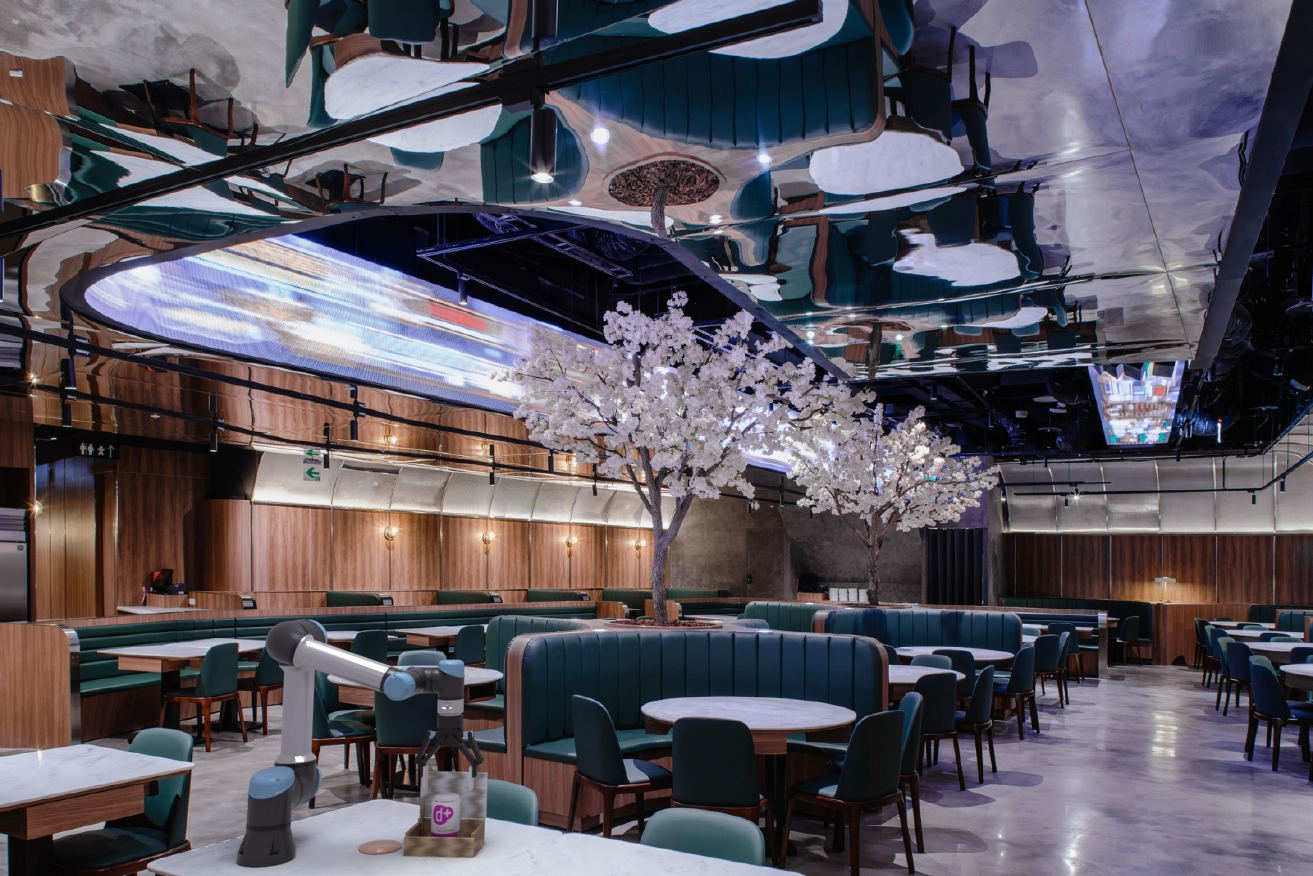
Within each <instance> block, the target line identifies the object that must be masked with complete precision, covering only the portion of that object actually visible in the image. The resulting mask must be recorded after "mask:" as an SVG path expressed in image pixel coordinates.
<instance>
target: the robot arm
mask: <svg viewBox="0 0 1313 876" xmlns="http://www.w3.org/2000/svg"><path fill="white" fill-rule="evenodd" d="M265 649H266V651H267V653H268V655H269V656H270V658H272V659H273V660H275V661H277V662H279V664H278V665H279V668H280V669H281V670H282V671H283V673H284V674H283V691H282V692H283V693H282V694H283V695H282V715H281V716H282V717H281V737H280V738H281V739H280V754H279V755H278V756H277V757H276V759H274V765H273V766H272V767H268V768H262V769H260V770H258V771H256V772H255V773H253V774H252V776H251V777H250V779H249V785H248V788H247V792H248V795H247V806H246V807H247V809H246V822H245V823H246V824H245V825H246V826H245V832H244V835H243V837H242V841H241V843H240V846H239V848H238V850H237V855H236V863H237V864H238V865H241V866H243V867H252V868H253V867H256V868H257V867H269V866H275V865H279V864H280V865H281V864H284V863H286V862H289V861H291V860H293V859H294V858H295V857H296V852H297V846H296V841H295V838H294V834H293V831H292V814H293V813H292V812H293V809H295V808H297V807H300V806H302V805H305V804H306V803H308V802H309V801H311V799H313V798H314V797H315V796H316V795H317V793H318V792H319V790H320V789H321V785H322V782H323V780H322V779H323V778H322V776H323V775H322V771H321V769H320V767H318V765H317V756H316V755H315V754H314V752H312V748H313V747H312V746H313V745H312V744H313V741H312V740H313V721H314V719H313V718H314V698H315V697H314V695H315V672H316V671H318V672H320V673H321V672H322V673H324V674H326V675H327V674H328V675H331V676H333V677H336V678H338V679H342V680H345V681H347V682H350V683H354V684H357V685H360V686H363V687H365V688H367V689H371V690H374V691H376V692H379V693H382V694H384V695H386V697H387V698H388V699H390V700H391V701H404V700H407V699H409V698H411V697H413V696H416V695H418V694H437V714H438V715H437V716H436V731H435V730H434V731H433V730H432V729H430V730H427V731H426V732H425V736H424V740H423V742H422V744H421V746H420V748H419V750H418V751H417V754H416V755H415V758H414V760H413V763H414V765H418V766H419V777H420V778H421V777H423V790H426V789H427V788H428V771H430V770H429V764H427V763H428V762H429V760H430V759H431V758H432V757H433V756H434V755H435V754H436V752H437V751H438V750H439V749H440V747H443V748H447V747H449V748H455V747H456V748H457V749H458V750H459V751H460V752H461V753H462V755H463V757H465V759H466V760H467V761H468V763H469V764H470V766H468V772H469V790H472V789H473V788H474V778H476V777H477V772H478V766H479V765H481V764H483V763H484V762H485V759H484V757H483V754H482V752H481V751H480V748H479V746H478V743H477V741H476V739H475V733H474V730H472V729H471V730H468V731H464V714H463V713H464V701H465V699H464V697H465V696H464V695H465V694H464V691H465V677H466V676H465V663H464V661H463V660H461V659H444V660H440V661H439V663H438V666H434V667H433V666H431V667H430V666H429V667H427V666H426V667H425V666H406V667H405V666H403V667H402V668H397V667H393V666H391V665H389V664H386V663H382V662H380V661H376V660H374V659H371V658H368V657H366V656H362V655H360V654H356V653H353V652H350V651H347V650H345V649H342V648H339V647H336V646H333V645H331V644H328V634H327V631H326V629H325V627H324V626H323V625H322V624H321V623H319V622H318V621H316V620H313V619H305V618H303V619H295V620H288V621H282V622H279V623H277V624H276V625H274V626H273V627H272V628H271V629H270V630H269V631H268V633H267V635H266V638H265ZM434 737H435V738H436V740H437V742H436V743H435V744H434V745H433V747H432V748H431V749H430V750H429V751H428V753H427V754H426V755H425V756H424V754H425V752H426V750H427V749H428V747H429V744H430V742H431V740H432V739H433V738H434ZM464 737H465V738H466V740H467V741H468V744H469V746H470V748H471V750H472V752H473V754H472V753H471V751H470V749H469V748H468V747H467V745H466V744H465V742H464V741H463V740H462V739H463V738H464ZM423 756H424V757H423ZM422 758H423V759H422Z"/></svg>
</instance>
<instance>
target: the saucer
mask: <svg viewBox="0 0 1313 876" xmlns="http://www.w3.org/2000/svg"><path fill="white" fill-rule="evenodd" d="M402 848H403V843H402V842H401V841H399V840H394V839H393V840H392V839H377V840H371V841H367V842H364V843H362V844H360V845H359V846H358V852H359V853H361V854H365V855H374V856H375V855H386V854H392V853H394V852H397V851H399V850H401V849H402Z"/></svg>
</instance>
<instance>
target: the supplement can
mask: <svg viewBox="0 0 1313 876" xmlns="http://www.w3.org/2000/svg"><path fill="white" fill-rule="evenodd" d="M460 817H461V799H460V797H459V794H457V793H440V794H437V795H435V797H434V799H433V801H432V817H430V818H431V837H456V838H460Z"/></svg>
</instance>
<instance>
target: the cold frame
mask: <svg viewBox="0 0 1313 876" xmlns="http://www.w3.org/2000/svg"><path fill="white" fill-rule="evenodd" d="M440 793H457V794H459V797H460V799H461V817H460V838H456V837H431V817H432V801H433V799H434V797H435V795H437V794H440ZM419 795H420V798H419V817H418V818H417V822H416V823H415V824H413V825H412V827H411V826H410V828H408V829H407V831H406V832H405V833H404V834H405V835H404V837H403V852H402V853H403V854H402V855H403V857H425V858H426V857H427V858H428V856H430V857H431V858H433V857H434V858H436V857H437V858H464V859H465V858H467V859H468V858H471V859H472V858H473V859H474V857H475V856H476V855H477V853H478V852H479V851H480V850H481V849H482V847H483V846H484V845H485V837H486V836H485V835H486V833H485V832H486V819H487V805H488V804H487V803H488V801H487V800H488V799H487V798H488V772H485V771H484V772H483V771H482V772H480V771H477V777H476V778H474V788H473V789H472V790H469V771H433V770H431V771H430V770H428V788H427V789H426V790H423V777H420V794H419ZM432 856H433V857H432Z"/></svg>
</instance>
